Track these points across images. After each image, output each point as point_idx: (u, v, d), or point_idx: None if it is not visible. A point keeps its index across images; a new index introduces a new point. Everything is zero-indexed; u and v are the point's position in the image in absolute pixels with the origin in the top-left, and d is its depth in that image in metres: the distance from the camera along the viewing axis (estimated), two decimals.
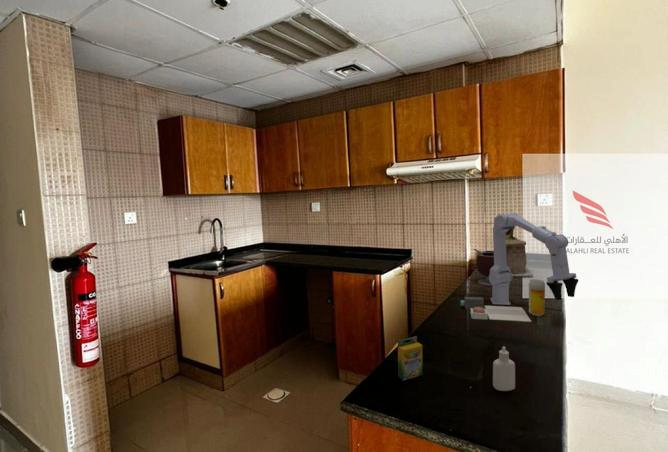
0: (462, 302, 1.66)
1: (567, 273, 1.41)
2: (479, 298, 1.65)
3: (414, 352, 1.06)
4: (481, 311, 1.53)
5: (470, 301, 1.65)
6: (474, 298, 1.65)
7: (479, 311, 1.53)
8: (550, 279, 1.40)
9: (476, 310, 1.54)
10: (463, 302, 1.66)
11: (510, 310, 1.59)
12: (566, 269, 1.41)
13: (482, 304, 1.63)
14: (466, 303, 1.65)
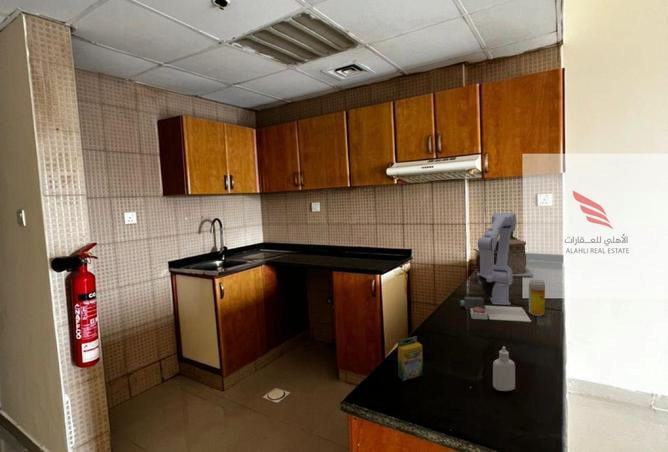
0: (462, 302, 1.66)
1: (480, 271, 1.58)
2: (479, 298, 1.65)
3: (414, 352, 1.06)
4: (481, 311, 1.53)
5: (470, 301, 1.65)
6: (474, 298, 1.65)
7: (479, 311, 1.53)
8: None
9: (476, 310, 1.54)
10: (463, 302, 1.66)
11: (510, 310, 1.59)
12: (480, 267, 1.58)
13: (482, 304, 1.63)
14: (466, 303, 1.65)
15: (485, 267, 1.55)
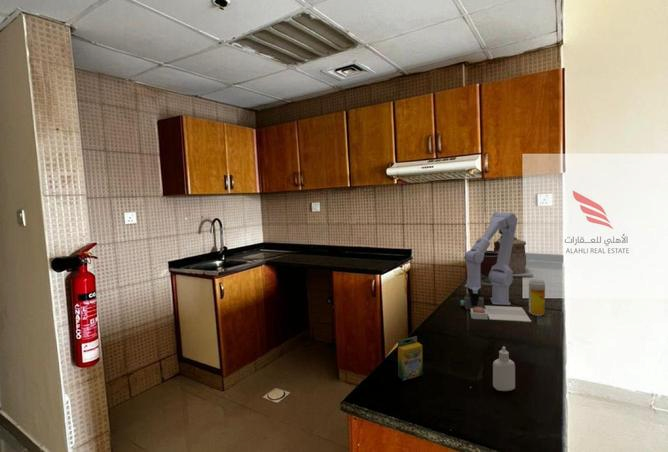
0: (462, 302, 1.66)
1: (467, 283, 1.66)
2: (479, 298, 1.65)
3: (414, 352, 1.06)
4: (481, 311, 1.53)
5: (470, 301, 1.65)
6: None
7: (479, 311, 1.53)
8: None
9: (476, 310, 1.54)
10: (463, 302, 1.66)
11: (510, 310, 1.59)
12: (467, 279, 1.66)
13: (482, 304, 1.63)
14: (466, 303, 1.65)
15: (472, 279, 1.62)
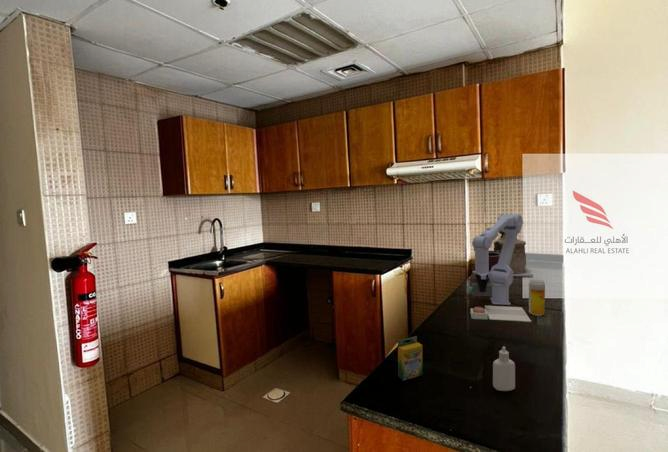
0: (470, 288, 1.64)
1: (475, 269, 1.63)
2: (487, 284, 1.62)
3: (414, 352, 1.06)
4: (481, 311, 1.53)
5: (478, 288, 1.62)
6: None
7: (479, 311, 1.53)
8: None
9: (476, 310, 1.54)
10: (471, 288, 1.64)
11: (510, 310, 1.59)
12: (475, 265, 1.63)
13: (490, 290, 1.61)
14: (474, 289, 1.63)
15: (480, 265, 1.60)
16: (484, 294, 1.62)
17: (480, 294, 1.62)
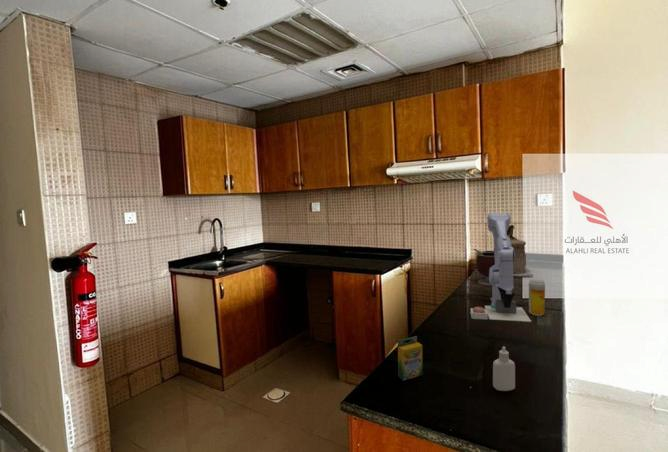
0: (493, 305, 1.59)
1: (499, 282, 1.58)
2: None
3: (414, 352, 1.06)
4: (481, 311, 1.53)
5: (502, 304, 1.57)
6: None
7: (479, 311, 1.53)
8: None
9: (476, 310, 1.54)
10: (494, 305, 1.59)
11: None
12: (499, 279, 1.58)
13: (515, 307, 1.56)
14: (497, 306, 1.58)
15: (504, 279, 1.55)
16: (508, 311, 1.56)
17: (504, 311, 1.57)
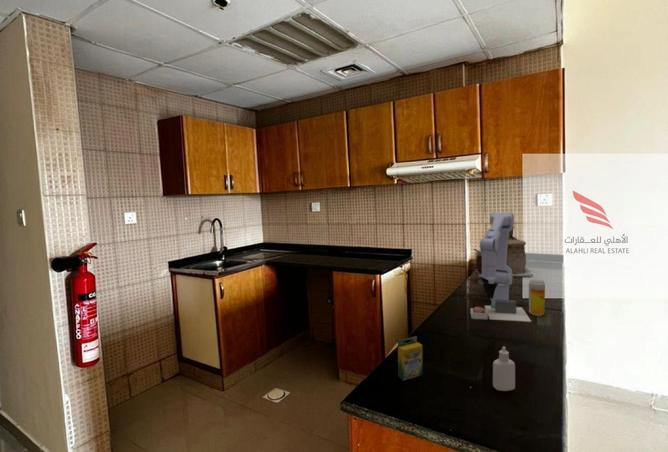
0: (493, 305, 1.59)
1: None
2: (511, 301, 1.57)
3: (414, 352, 1.06)
4: (481, 311, 1.53)
5: (502, 304, 1.57)
6: (506, 301, 1.58)
7: (479, 311, 1.53)
8: None
9: (476, 310, 1.54)
10: (494, 305, 1.59)
11: None
12: None
13: (515, 307, 1.56)
14: (497, 306, 1.58)
15: (487, 268, 1.52)
16: (508, 311, 1.56)
17: (504, 311, 1.57)
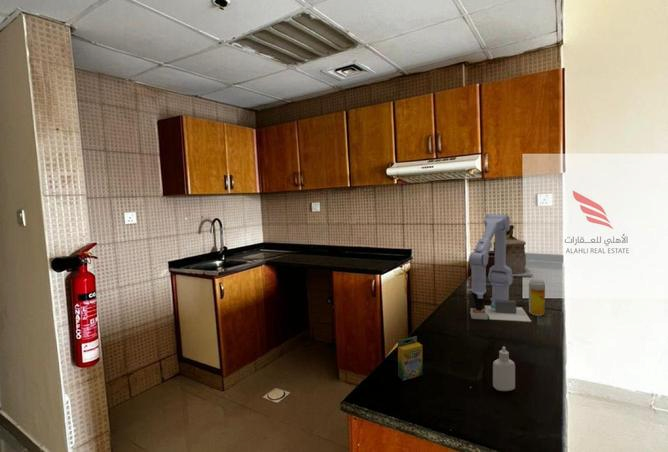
0: (493, 305, 1.59)
1: None
2: (511, 301, 1.57)
3: (414, 352, 1.06)
4: None
5: (502, 304, 1.57)
6: (506, 301, 1.58)
7: None
8: None
9: (476, 312, 1.54)
10: (494, 305, 1.59)
11: None
12: None
13: (515, 307, 1.56)
14: (497, 306, 1.58)
15: (476, 283, 1.52)
16: (508, 311, 1.56)
17: (504, 311, 1.57)
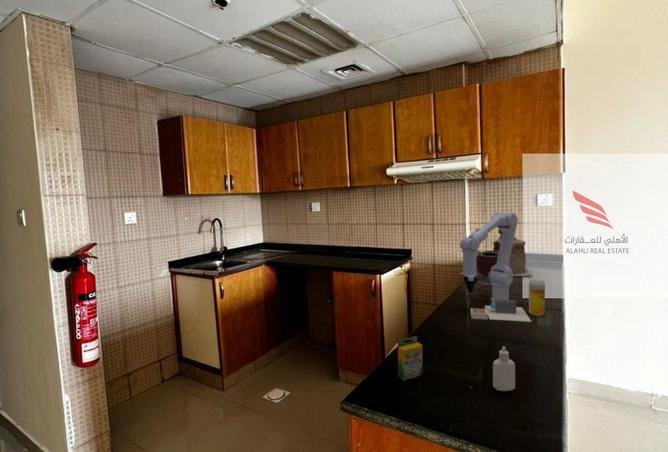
0: (493, 305, 1.59)
1: (463, 270, 1.63)
2: (511, 301, 1.57)
3: (414, 352, 1.06)
4: None
5: (502, 304, 1.57)
6: (506, 301, 1.58)
7: None
8: None
9: (476, 312, 1.54)
10: (494, 305, 1.59)
11: None
12: (463, 267, 1.63)
13: (515, 307, 1.56)
14: (497, 306, 1.58)
15: (468, 267, 1.60)
16: (508, 311, 1.56)
17: (504, 311, 1.57)
